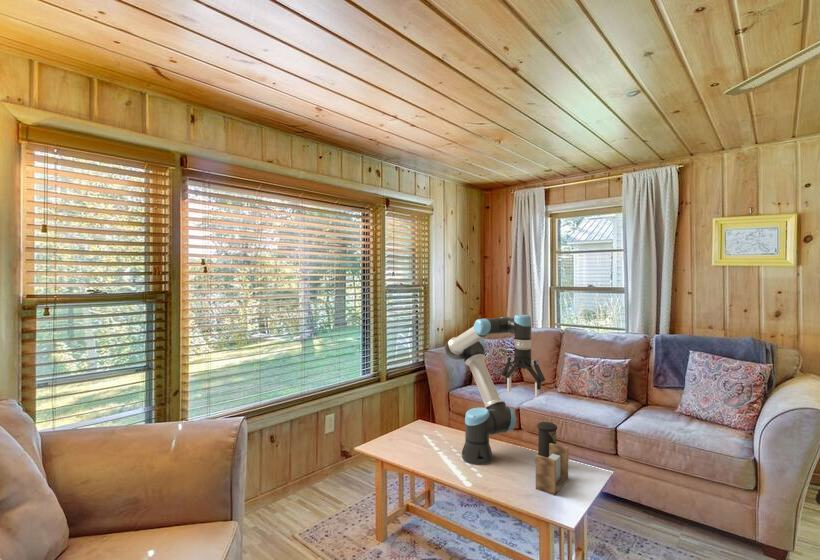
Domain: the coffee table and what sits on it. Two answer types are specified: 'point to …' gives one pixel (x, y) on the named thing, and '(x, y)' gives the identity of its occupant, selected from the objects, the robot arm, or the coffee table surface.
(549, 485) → the brown cabinet body
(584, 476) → the coffee table surface
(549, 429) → the container
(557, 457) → the door slab
